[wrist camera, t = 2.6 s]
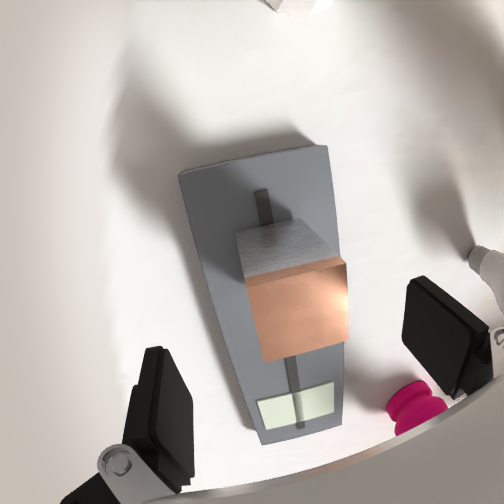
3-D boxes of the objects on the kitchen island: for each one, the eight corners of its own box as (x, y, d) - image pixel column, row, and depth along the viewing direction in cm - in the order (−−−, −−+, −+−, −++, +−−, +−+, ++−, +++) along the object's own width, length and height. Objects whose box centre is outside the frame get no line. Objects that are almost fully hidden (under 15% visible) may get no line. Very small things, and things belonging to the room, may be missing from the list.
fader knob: (300, 218, 17) (346, 262, 11) (308, 276, 19) (348, 339, 13) (234, 232, 17) (246, 287, 11) (248, 290, 19) (264, 362, 13)
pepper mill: (372, 416, 31) (432, 539, 12) (405, 376, 29) (487, 505, 10) (407, 414, 32) (466, 518, 14) (438, 377, 30) (513, 483, 12)
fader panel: (316, 144, 18) (328, 145, 16) (336, 412, 29) (342, 426, 27) (181, 171, 18) (177, 175, 16) (259, 431, 29) (262, 446, 27)
